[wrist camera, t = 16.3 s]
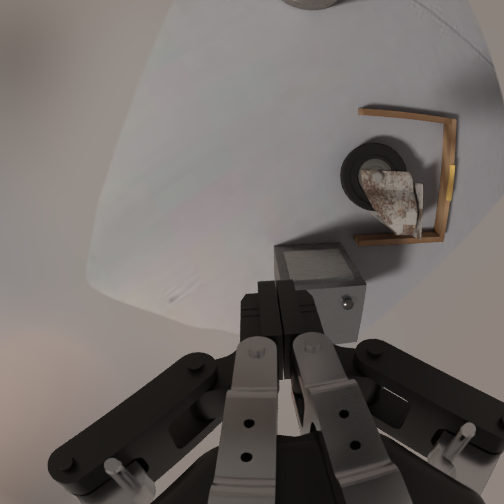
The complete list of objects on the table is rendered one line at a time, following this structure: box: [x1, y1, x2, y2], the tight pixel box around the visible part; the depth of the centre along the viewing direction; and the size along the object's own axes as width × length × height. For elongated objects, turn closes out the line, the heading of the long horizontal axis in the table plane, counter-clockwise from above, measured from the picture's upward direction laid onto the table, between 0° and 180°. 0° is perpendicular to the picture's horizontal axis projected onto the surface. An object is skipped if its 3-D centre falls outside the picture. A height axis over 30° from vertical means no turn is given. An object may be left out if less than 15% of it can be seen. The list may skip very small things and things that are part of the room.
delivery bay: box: [354, 108, 456, 246], centre depth 37 cm, size 18×14×2 cm
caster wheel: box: [340, 143, 423, 240], centre depth 36 cm, size 7×11×10 cm
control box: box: [274, 242, 366, 344], centre depth 39 cm, size 9×9×12 cm
